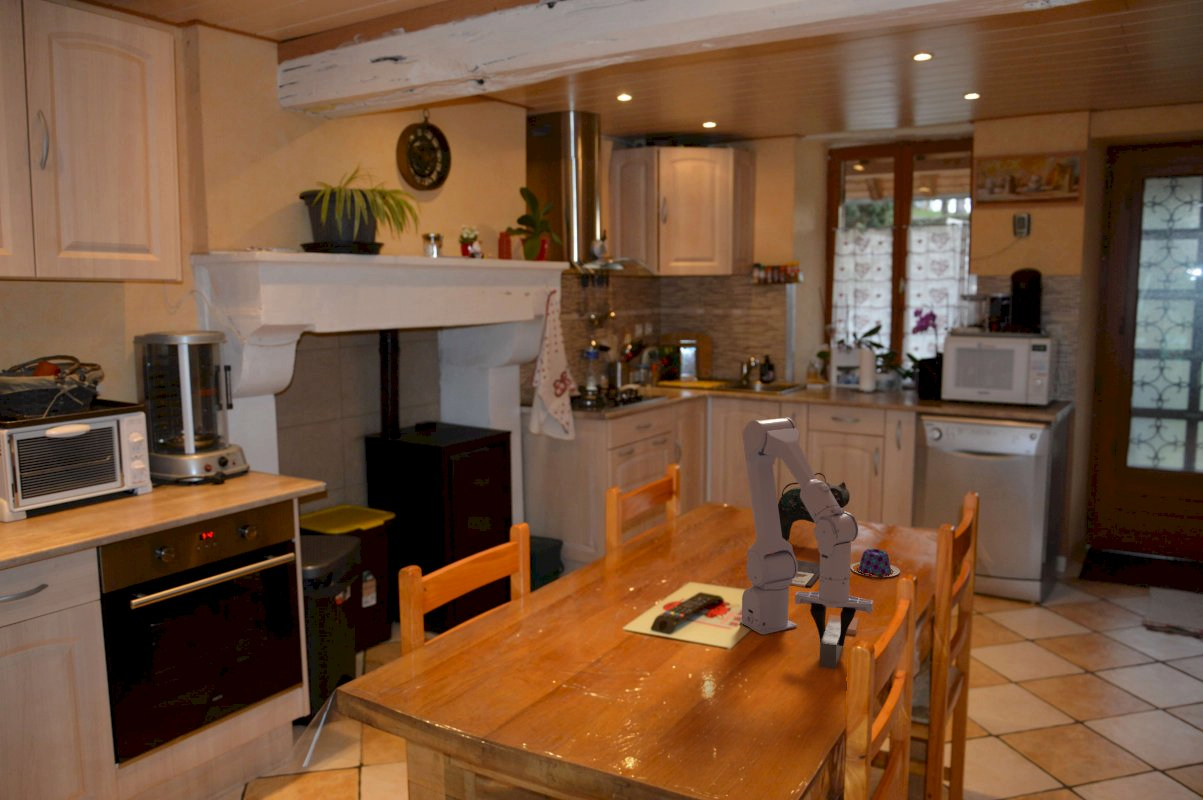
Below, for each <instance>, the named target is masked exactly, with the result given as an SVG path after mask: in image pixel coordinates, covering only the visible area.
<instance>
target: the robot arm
mask: <svg viewBox="0 0 1203 800" xmlns="http://www.w3.org/2000/svg"><path fill="white" fill-rule="evenodd" d="M800 433H801V432H800V431H799V429H798V428H797V426H796V423H795V422H794V420H793V419H791V417H788V416H782V417H780V418H771V419H761V420H757V419H754V420H753V419H752V420H750V421H749V422H747V424H746V426H745V427H744V429H743V430H742V432H741V435H742V442H743V448H744V457H745V463H746V470H747V471H746V472H747V478H748V485H749V491H750V492H749V493H750V499H751V508H752V514H753V515H752V516H753V523H754V531H755V538H756V539H755V541H754V542H753V543H752V544H751V545H750V546H749V548H748V549H747V551H746V555H747V560H746V561H747V562H746V565H745V566H746V568H745V569H746V575H747V577H748V580H749V581H750V583H751V586H750V587H748V588H746V589H745V590H744V591H743V592H742V593H743V594H742V595H741V619H740V620H738V622H740V623H739V624H741V623H742V624H741V625H743V624H744V625H746V626H748V627H750V628H751V629H750V628H749V629H750V630H753V631H754V632H756V633H758V634H760V635H762V636H763V635H769V634H772V633H776V632H781V631H784V630H789V629H793V628H797V626H798V625H797V623H795V622H794V621H791V620H789V601H790V600H789V599H790V597H789V596H790V586H791V585H790V584H792V579H794V578H795V577H796V575H797V572H798V563H797V560H798V559H797V558H796V556H795V554H794V550H793V545H792V544H791V543H790V542H789V541H788V540H787V541H786V540H785V539H783V538H782V532H781V525H780V517H779V510H778V503H779V502H778V496H777V489H776V480H775V474H774V473H775V472H774V465H773V464H774V462H775V461H776V460H777V458H780V459H781V460H782V462H783V464H784V465H785V466H786V468H787V469H788V470H789V472H790V473H791V474H792V476H793V478H794V480H796V482H798V483H799V484H798V485H799V487H801V492H800V498H801V500H802V501H803V503H804V505H805V507H806V508H807V510H808V512H809V513H810V515H811V517H812V519H813V520H814V522H815V523H814V524H815V527H813V534H814V537H815V539H816V543H817V550H818V553H819V563H820V573H819V578H818V591H799V590H798V591H796V592H795V594H794V595H795V596H794V604H795V605H802V604H805V605H810V609H809V611H810V615H811V616H812V618H813V620H814V622H815V623H814V624H815V626H816V628H817V631H818V635H819V643H820V642H821V640H822V637H823V635H824V632H825V630H826V614H827V608H833V609H836V608H837V609H841V612H840V616H841V633H840V641H839V646H843V647H844V645H845V639H846V635H847V634H846V632H847V629H848V627H849V625H850V623H851V621H852V619H853V618H855V615H856V611H859V612H865V613H866V614H872V613H873V609H874V600H871V599H865V598H861V597H858V596H857V597H856V596H853V595H850V583H851V581H850V580H851V579H850V578H851V577H850V576H851V568H850V566H851V560H852V559H851V558H852V557H851V556H852V555H851V553H852V552H851V551H852V542H853V541H856V539H857V538H858V535H859V525H858V522H857V519H856V518H855V516H854V515H853V514H852V513H851V512H848V511H846V510H845V508H844V507H843V508H840V506H839V504H838V503H837V501H836V499H835V498H834V496H833V494H832V493H831V491H830V488H829V487H828V485H827V484H826V483H825V481H822V480H819V479H817V477H816V475H815V473H814V470H813V469H812V467H811V465H810V463H809V461H808V459H807V457H806V455H805V453H804V451H803V449H802V447H801V444H800V439H801V437H800V436H801V434H800ZM744 625H743V626H744ZM746 626H745V627H746ZM748 627H747V628H748Z"/></svg>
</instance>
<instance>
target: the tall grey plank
mask: <svg viewBox="0 0 1203 800" xmlns="http://www.w3.org/2000/svg"><path fill="white" fill-rule="evenodd" d="M827 622H828V621H827ZM826 625H827V624H826ZM840 633H841V622H836V621H829V622H828V625H827V627H826V626H825V632H824V635H823V637H822V640H821V642H820V641H819V645H820V646H819V667H820V668H825V669H832V670H836V669H837V666H838V663H839V660H840V657H841V654H842V651H843V648H844V645H843V646H839V641H840Z"/></svg>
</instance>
